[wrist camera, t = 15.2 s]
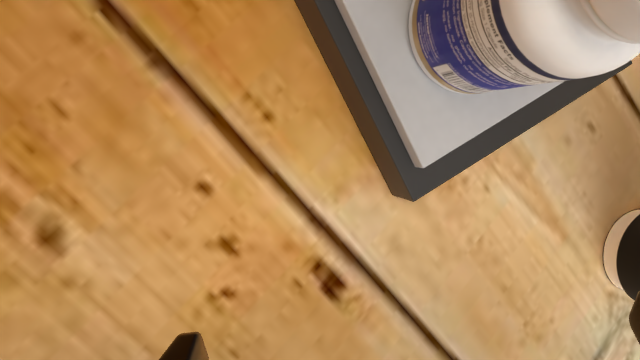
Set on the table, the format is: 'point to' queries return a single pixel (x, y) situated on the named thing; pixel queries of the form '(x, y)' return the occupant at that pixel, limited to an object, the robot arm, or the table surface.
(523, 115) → the kitchen scale
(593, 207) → the table surface
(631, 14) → the pill bottle
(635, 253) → the dixie cup
